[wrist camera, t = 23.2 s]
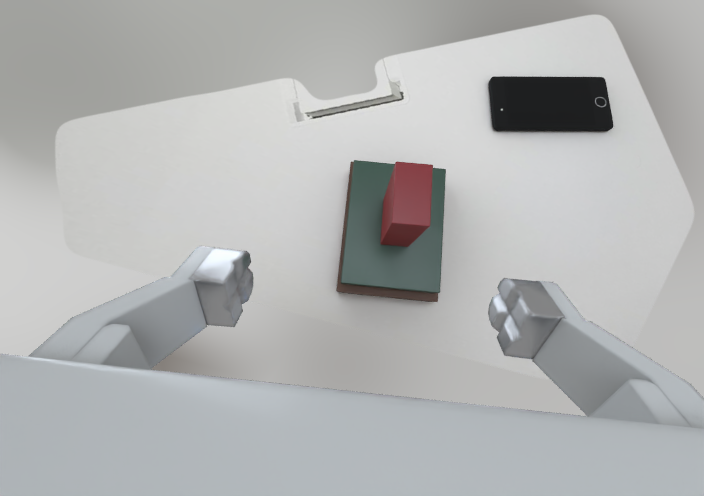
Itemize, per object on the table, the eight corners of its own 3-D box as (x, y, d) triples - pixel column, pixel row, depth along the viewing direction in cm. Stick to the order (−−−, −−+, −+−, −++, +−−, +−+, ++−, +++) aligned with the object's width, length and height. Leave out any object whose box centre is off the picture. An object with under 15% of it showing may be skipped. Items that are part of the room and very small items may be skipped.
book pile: (431, 301, 40) (443, 301, 35) (337, 292, 41) (335, 290, 35) (437, 179, 44) (450, 162, 38) (350, 170, 44) (350, 152, 38)
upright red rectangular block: (408, 247, 36) (430, 226, 26) (380, 244, 36) (391, 223, 26) (411, 200, 37) (433, 163, 27) (383, 197, 37) (395, 160, 27)
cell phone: (609, 131, 45) (614, 128, 44) (492, 131, 45) (495, 127, 44) (600, 81, 47) (605, 76, 46) (487, 80, 47) (490, 76, 46)
